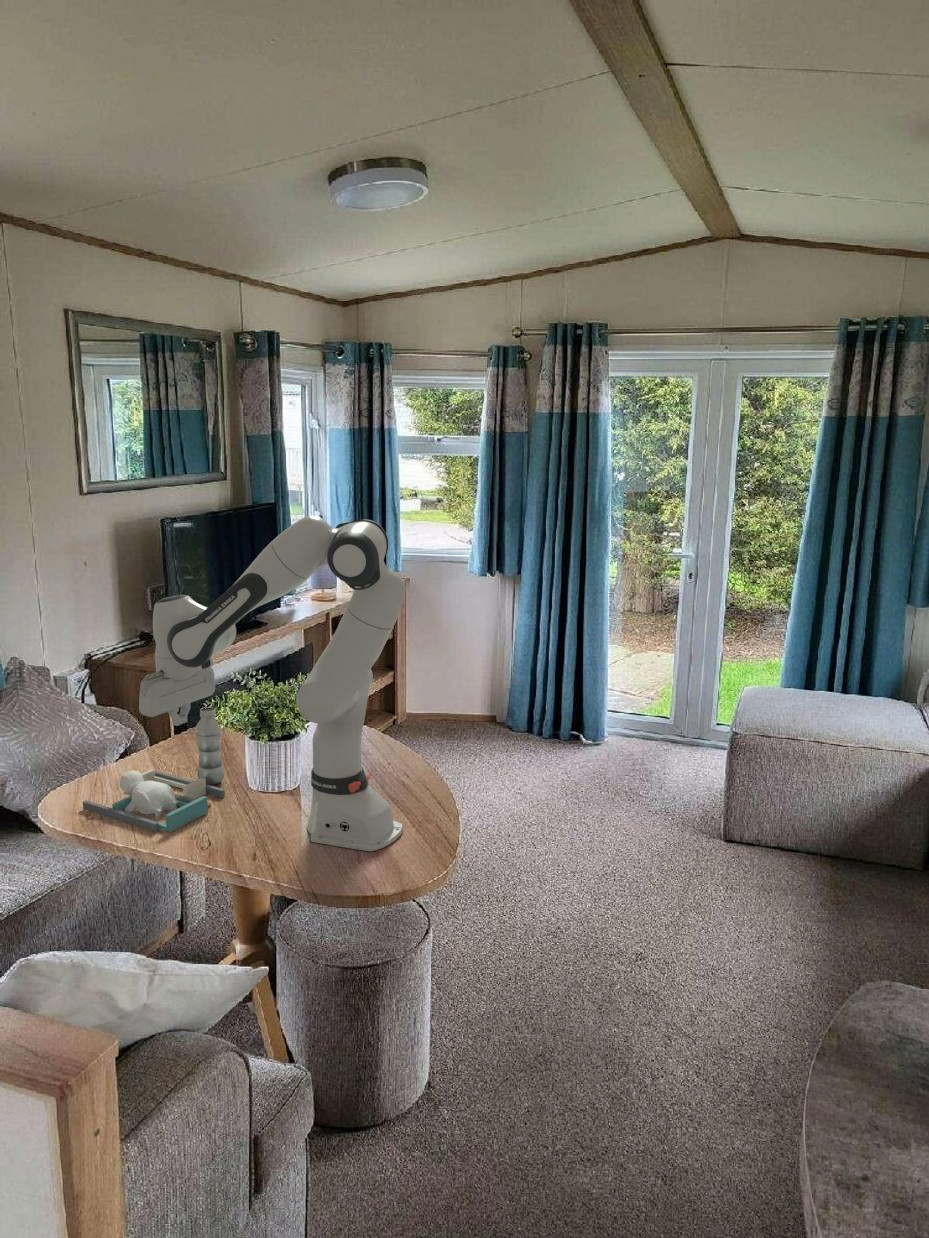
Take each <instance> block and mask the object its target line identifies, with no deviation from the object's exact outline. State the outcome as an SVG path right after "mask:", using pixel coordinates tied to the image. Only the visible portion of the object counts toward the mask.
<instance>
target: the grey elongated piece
mask: <svg viewBox="0 0 929 1238" xmlns="http://www.w3.org/2000/svg"><path fill="white" fill-rule="evenodd" d="M155 771H156V770H155V769H153V768H152V769H149V770H147V771H144V772H143V773H140V774H141V775H142V777H143V778H144V781H156V782H160V783H164V784H167V785H169V786H170V787H176V788H178V789H179V788H180V789H182V793H183V794H182V796H185V797H189V798H192V799H198V798H200V797H202V796H205V795H207V794H206V779H205V778H200V779H198V778H197V779H196V780H193V781H194V782H192V783H190V784H183V783H180V782H176V781H173V780H169V779H165V778H162V777H158V776H155Z"/></svg>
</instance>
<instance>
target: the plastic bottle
mask: <svg viewBox="0 0 929 1238" xmlns="http://www.w3.org/2000/svg"><path fill="white" fill-rule="evenodd" d="M205 708H206V709H205ZM215 713H216V708H215V707H212V706H211V707H209V708H208V706H207V707H202V708H200V711H199V717H200V720H199V721H198V722H197V724H196V726H195V729H194V732H195V737H196V741H197V748H198V768H197V780H198V779H200V778H205V779H206V784H207V785H210V786H214V785H217V784H220V783H221V782H223V780H224V778H225V768H224V765H223V759H222V753H221V750H222V749H221V747H222V746H221V745H222V744H221V742H222V733H223V732H222V731H223V727H222V728H220V727H219V726H218V722H219V721H218V720H217V721H218V722H217V721H216V719H217V718H216V716H215ZM214 716H215V718H216V719H215V718H214Z"/></svg>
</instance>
